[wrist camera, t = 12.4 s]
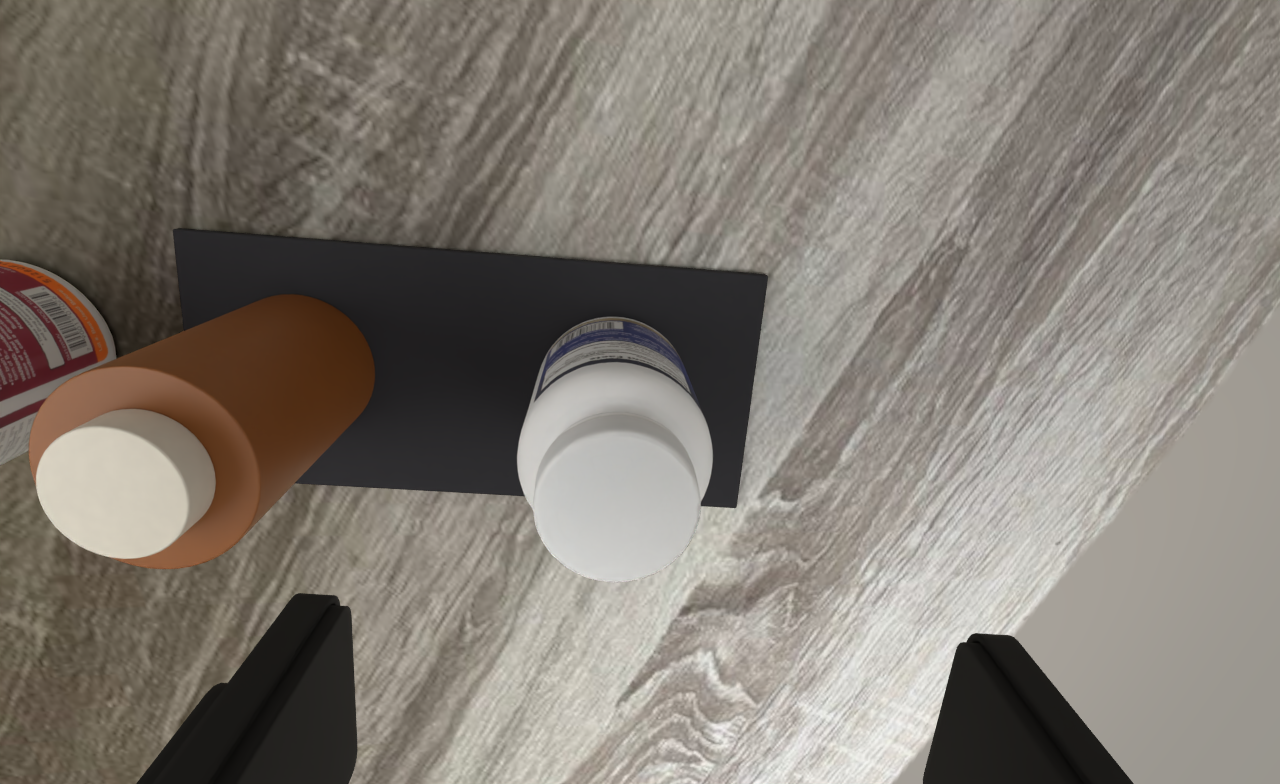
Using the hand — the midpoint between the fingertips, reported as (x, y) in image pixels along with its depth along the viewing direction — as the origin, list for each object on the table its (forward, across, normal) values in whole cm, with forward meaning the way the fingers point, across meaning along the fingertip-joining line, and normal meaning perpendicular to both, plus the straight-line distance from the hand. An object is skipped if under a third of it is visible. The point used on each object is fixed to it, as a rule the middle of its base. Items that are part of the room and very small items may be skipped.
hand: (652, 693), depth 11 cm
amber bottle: (+16, +12, 0) cm, 20 cm away
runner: (+16, +6, 0) cm, 17 cm away
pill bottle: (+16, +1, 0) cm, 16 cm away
